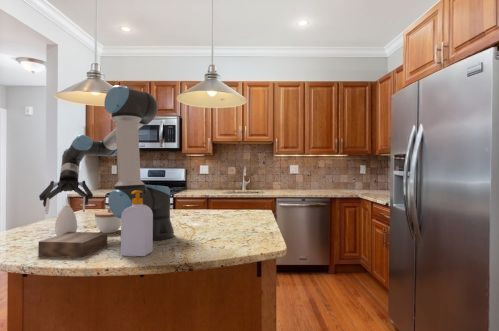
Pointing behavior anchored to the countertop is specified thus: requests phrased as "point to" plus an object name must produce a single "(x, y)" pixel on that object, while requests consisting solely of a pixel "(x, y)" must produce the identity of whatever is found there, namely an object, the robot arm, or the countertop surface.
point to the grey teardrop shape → (65, 220)
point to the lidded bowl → (107, 221)
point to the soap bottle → (137, 228)
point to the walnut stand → (72, 244)
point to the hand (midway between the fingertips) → (65, 211)
